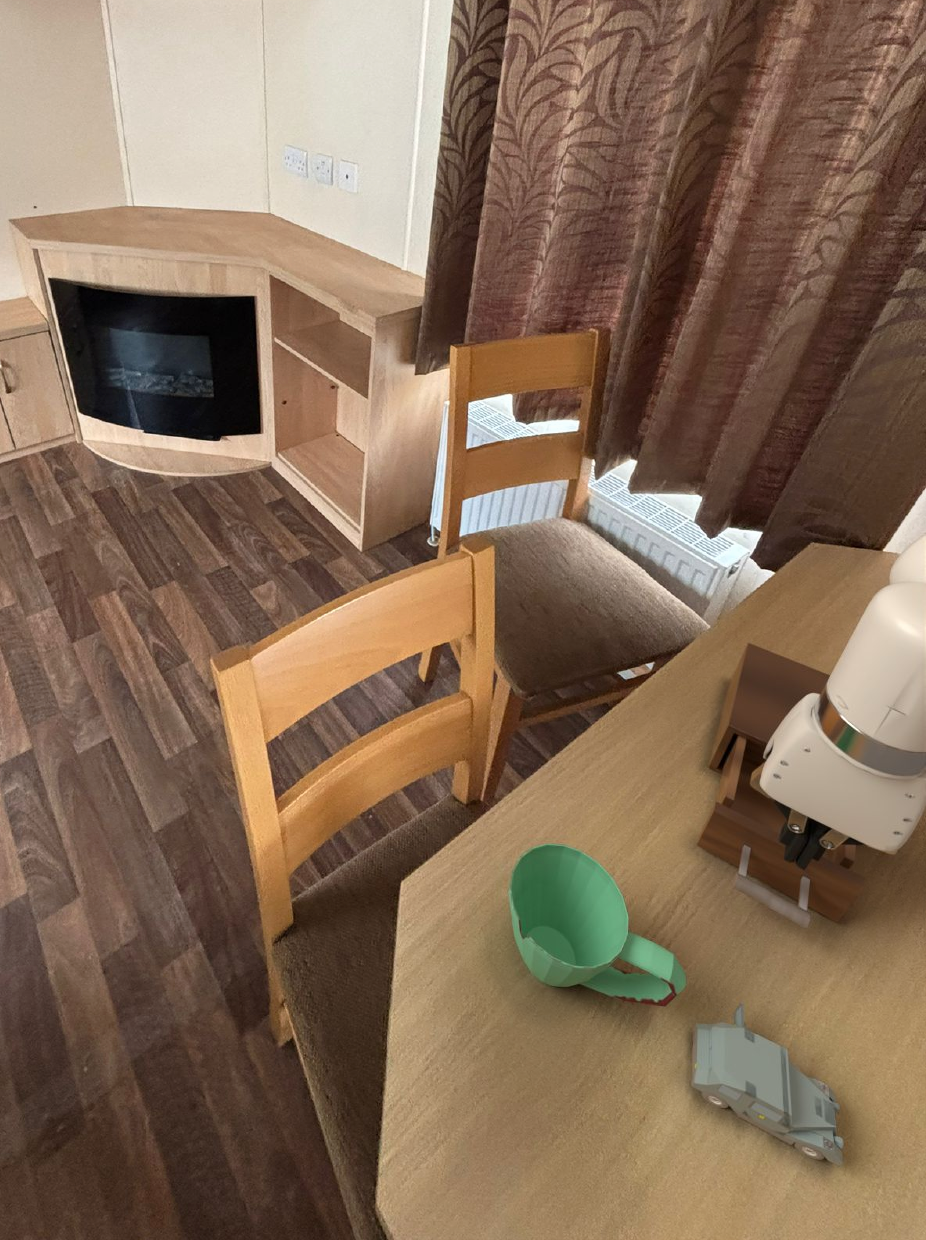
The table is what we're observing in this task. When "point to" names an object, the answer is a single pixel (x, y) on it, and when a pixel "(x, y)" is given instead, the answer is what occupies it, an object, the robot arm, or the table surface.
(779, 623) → the table surface
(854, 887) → the drawer
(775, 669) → the cabinet
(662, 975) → the mug
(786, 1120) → the toy car
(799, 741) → the robot arm
